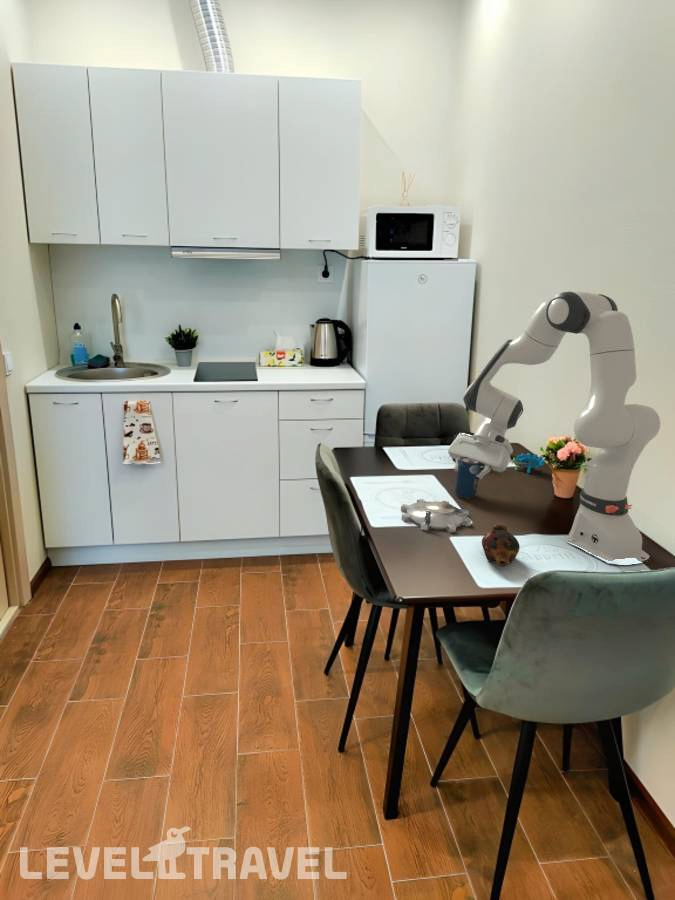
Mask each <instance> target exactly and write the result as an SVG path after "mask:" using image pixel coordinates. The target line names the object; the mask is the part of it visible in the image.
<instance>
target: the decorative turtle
mask: <svg viewBox="0 0 675 900" xmlns="http://www.w3.org/2000/svg"><path fill="white" fill-rule="evenodd" d="M481 545H482V549H483V552H484V555H485V558H486V560H487V561H488V560H491V562H493V561H495V562H496V564H497V565H498V566H500V567H506V566H507V565H508V564H509V563H508V562H511V563H513V562H512V561H514V560H515V559H516V557H518V556H517V555H518V554H519V552H520V549H521V547H520V543H519V541H518V538H516V537H515V535H513V533H511V532H509V531H508V527H507V525H505V524H504V523H503V522H497V523H495V524H494V525H493V526H492V529H491V530H490V531H487V533H485V534H484V535H483V537H482V539H481Z"/></svg>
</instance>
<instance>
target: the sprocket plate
mask: <svg viewBox="0 0 675 900" xmlns="http://www.w3.org/2000/svg"><path fill="white" fill-rule="evenodd" d="M400 511H401V512H405V513H402V514H401V521H403V522H404V523H407V522H412V523H413V524H415V525H417V526H419V527H420V528H419V530H421V531H429V529H431V530H439V531H441V530H442V531H444V530H446V531H447V532H448V533H449V534H451V533H455V532H456V530H457V529H458V528H460V527H462V526H464V525H465V527H468V526H469V527H470V526H471V525H472V519H470V518H467V517H469V510H468V509H466V508H458V507H457V506H454V505H452V504H451V503H450V501H447V500H442V501H436V500H435V501H426V500H425V499H423V498H420V499H418V498H417V499H416V502H415V503H411V504H405V503H403V504H402V505H401V506H400ZM461 525H462V526H461ZM457 527H458V528H457Z"/></svg>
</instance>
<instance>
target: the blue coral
mask: <svg viewBox="0 0 675 900" xmlns="http://www.w3.org/2000/svg"><path fill="white" fill-rule="evenodd" d="M512 462H514V465H515V467H514V471H518V467H520V466H521V467H522V468H523V467H524V468H527V470H526V473H527V474H530V473H531V469H534V467H535V468H536V469H539V468H540V467H544V464H545V463H546V460H544V459H543V457H542V456H538V454H537V453H536V454H535V453H534V454H533V456H532V453H530V452H527V453H526V454H525V453H524V452H522V453H521V454H520V455H518V454H517V456H516V457H513V459H512Z"/></svg>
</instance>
